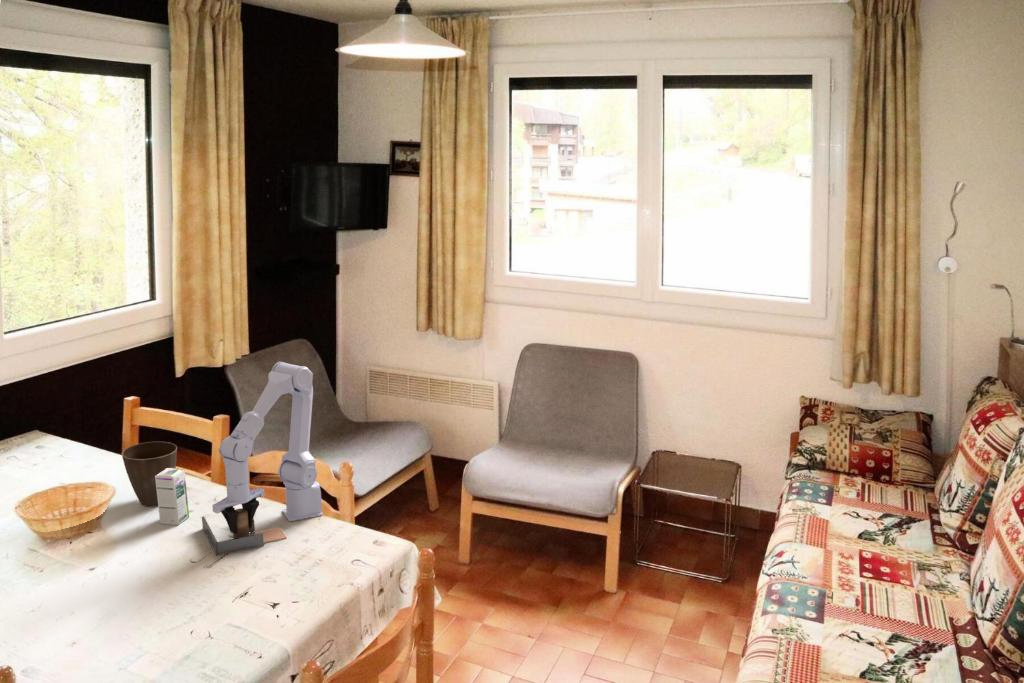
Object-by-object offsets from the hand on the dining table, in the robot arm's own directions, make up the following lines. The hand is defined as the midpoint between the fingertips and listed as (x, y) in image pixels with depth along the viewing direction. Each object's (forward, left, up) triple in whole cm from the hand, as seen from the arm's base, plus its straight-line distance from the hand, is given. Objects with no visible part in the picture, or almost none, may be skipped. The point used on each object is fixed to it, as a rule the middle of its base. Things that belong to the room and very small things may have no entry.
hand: (241, 529), depth 248 cm
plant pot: (+17, -38, -4) cm, 42 cm away
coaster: (-7, 0, -4) cm, 8 cm away
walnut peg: (0, 0, -2) cm, 2 cm away
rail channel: (+2, -4, -4) cm, 6 cm away
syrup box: (+14, -22, -4) cm, 26 cm away
